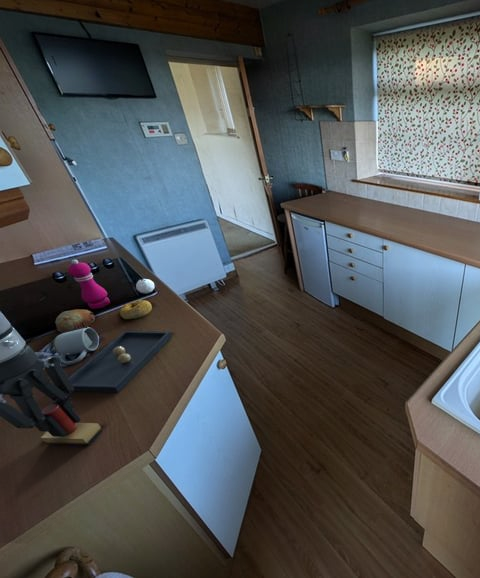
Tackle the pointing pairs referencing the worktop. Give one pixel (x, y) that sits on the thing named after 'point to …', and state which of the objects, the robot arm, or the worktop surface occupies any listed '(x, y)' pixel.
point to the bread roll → (74, 320)
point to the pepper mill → (88, 285)
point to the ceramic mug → (76, 343)
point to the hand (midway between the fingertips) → (67, 427)
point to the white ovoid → (145, 285)
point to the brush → (70, 429)
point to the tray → (109, 371)
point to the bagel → (135, 309)
